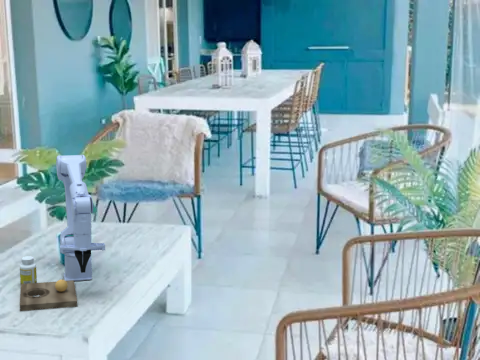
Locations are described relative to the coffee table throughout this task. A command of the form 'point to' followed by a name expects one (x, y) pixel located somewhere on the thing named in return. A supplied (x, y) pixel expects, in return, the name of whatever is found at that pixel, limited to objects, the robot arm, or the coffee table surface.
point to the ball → (61, 285)
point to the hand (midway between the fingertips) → (82, 271)
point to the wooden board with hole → (46, 296)
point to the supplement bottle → (28, 270)
